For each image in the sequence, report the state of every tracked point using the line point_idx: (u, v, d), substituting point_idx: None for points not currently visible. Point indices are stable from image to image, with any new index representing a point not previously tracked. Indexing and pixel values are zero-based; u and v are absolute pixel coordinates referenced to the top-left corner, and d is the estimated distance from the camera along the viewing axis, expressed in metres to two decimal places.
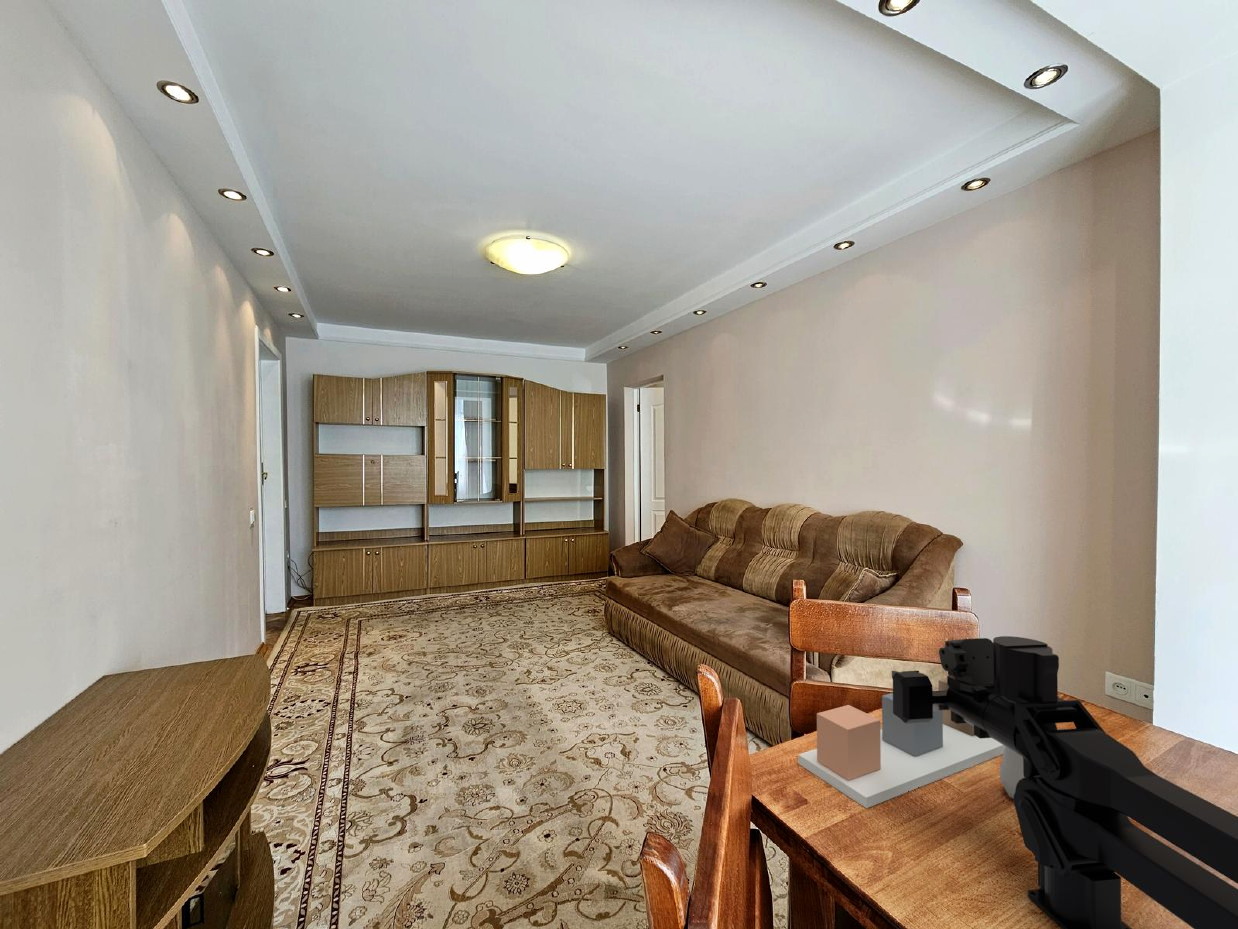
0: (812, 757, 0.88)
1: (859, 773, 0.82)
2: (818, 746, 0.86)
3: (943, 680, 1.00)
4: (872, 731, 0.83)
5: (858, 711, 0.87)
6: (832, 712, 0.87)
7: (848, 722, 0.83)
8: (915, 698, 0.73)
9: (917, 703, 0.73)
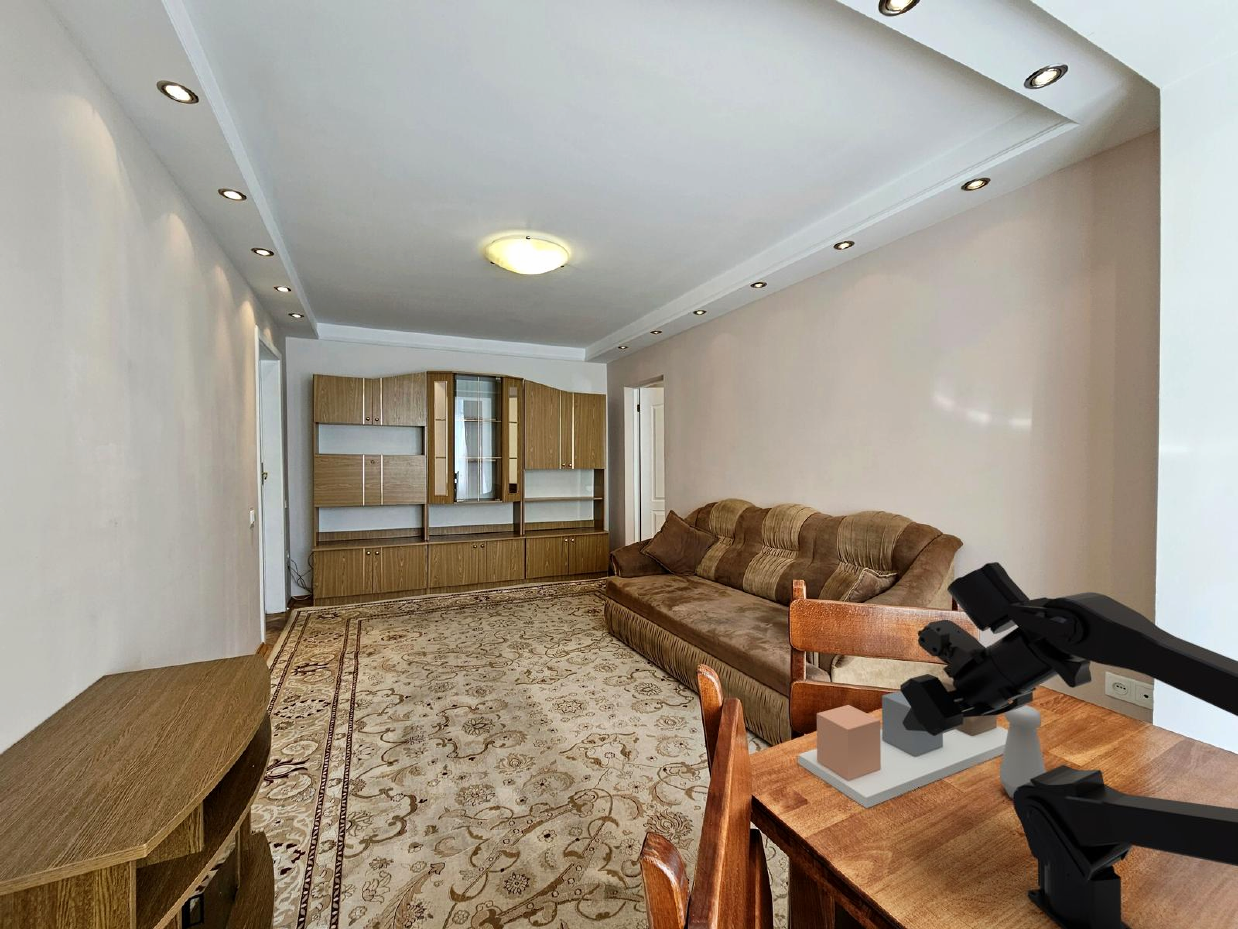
0: (812, 757, 0.88)
1: (859, 773, 0.82)
2: (818, 746, 0.86)
3: (943, 680, 1.00)
4: (872, 731, 0.83)
5: (858, 711, 0.87)
6: (832, 712, 0.87)
7: (848, 722, 0.83)
8: (933, 693, 0.65)
9: (939, 699, 0.64)
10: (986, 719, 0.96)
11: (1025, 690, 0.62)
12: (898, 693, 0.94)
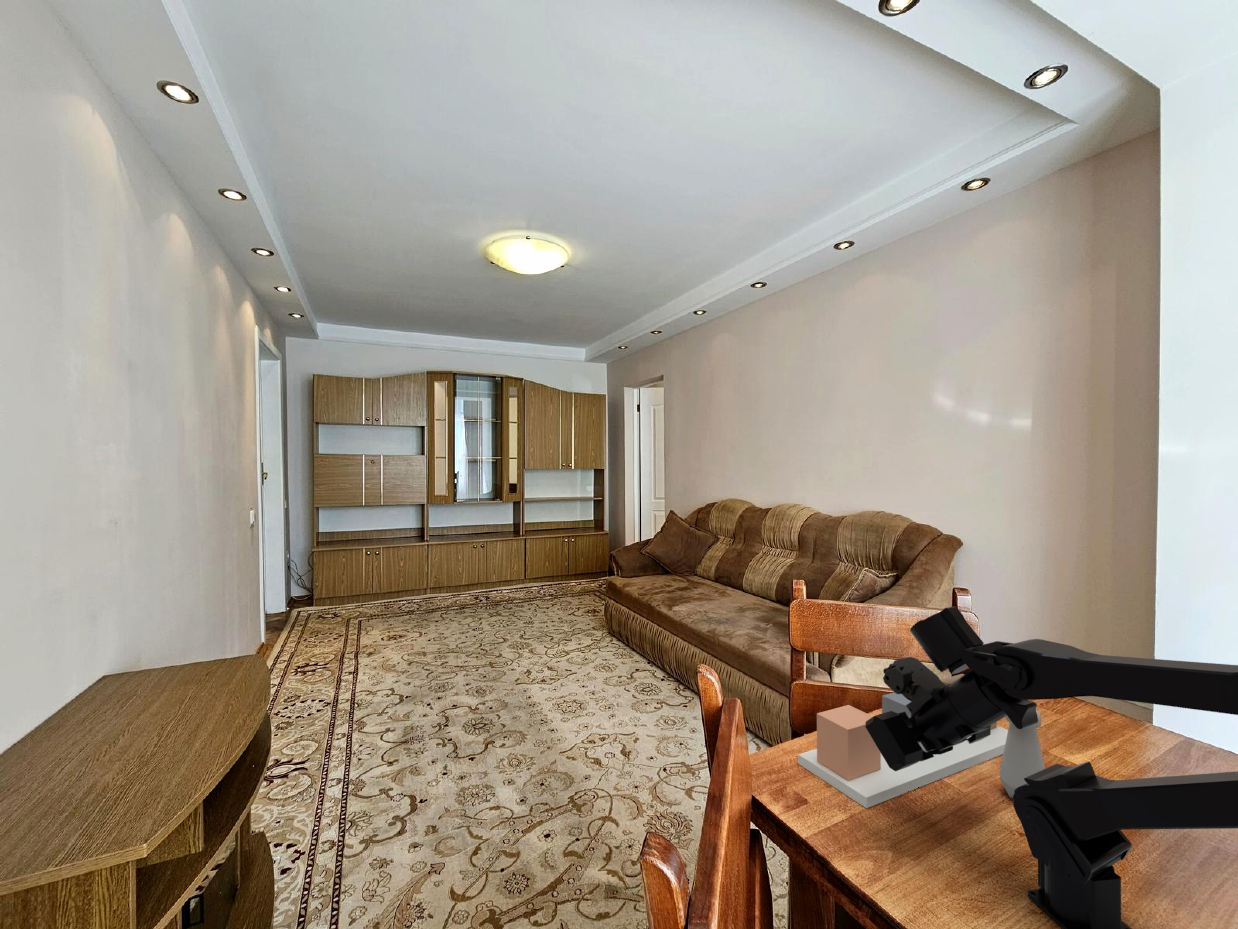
0: (812, 757, 0.88)
1: (859, 773, 0.82)
2: (818, 746, 0.86)
3: (943, 680, 1.00)
4: None
5: (858, 711, 0.87)
6: (832, 712, 0.87)
7: (848, 722, 0.83)
8: (895, 731, 0.69)
9: (900, 736, 0.69)
10: None
11: (979, 728, 0.67)
12: None
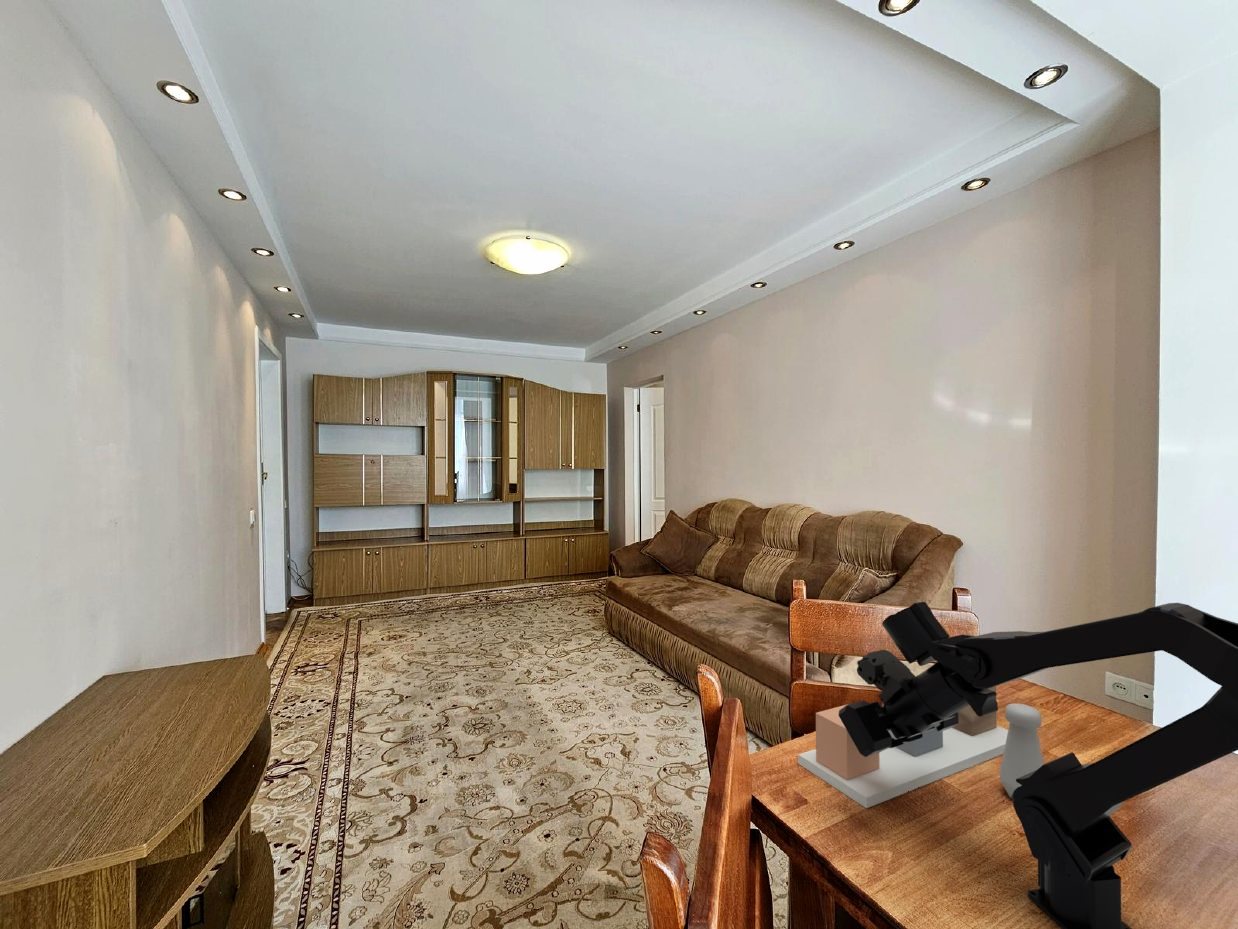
0: (812, 757, 0.88)
1: (858, 772, 0.82)
2: (817, 746, 0.86)
3: None
4: None
5: None
6: (831, 711, 0.87)
7: None
8: (866, 719, 0.73)
9: (870, 724, 0.73)
10: (986, 719, 0.96)
11: (944, 717, 0.71)
12: None
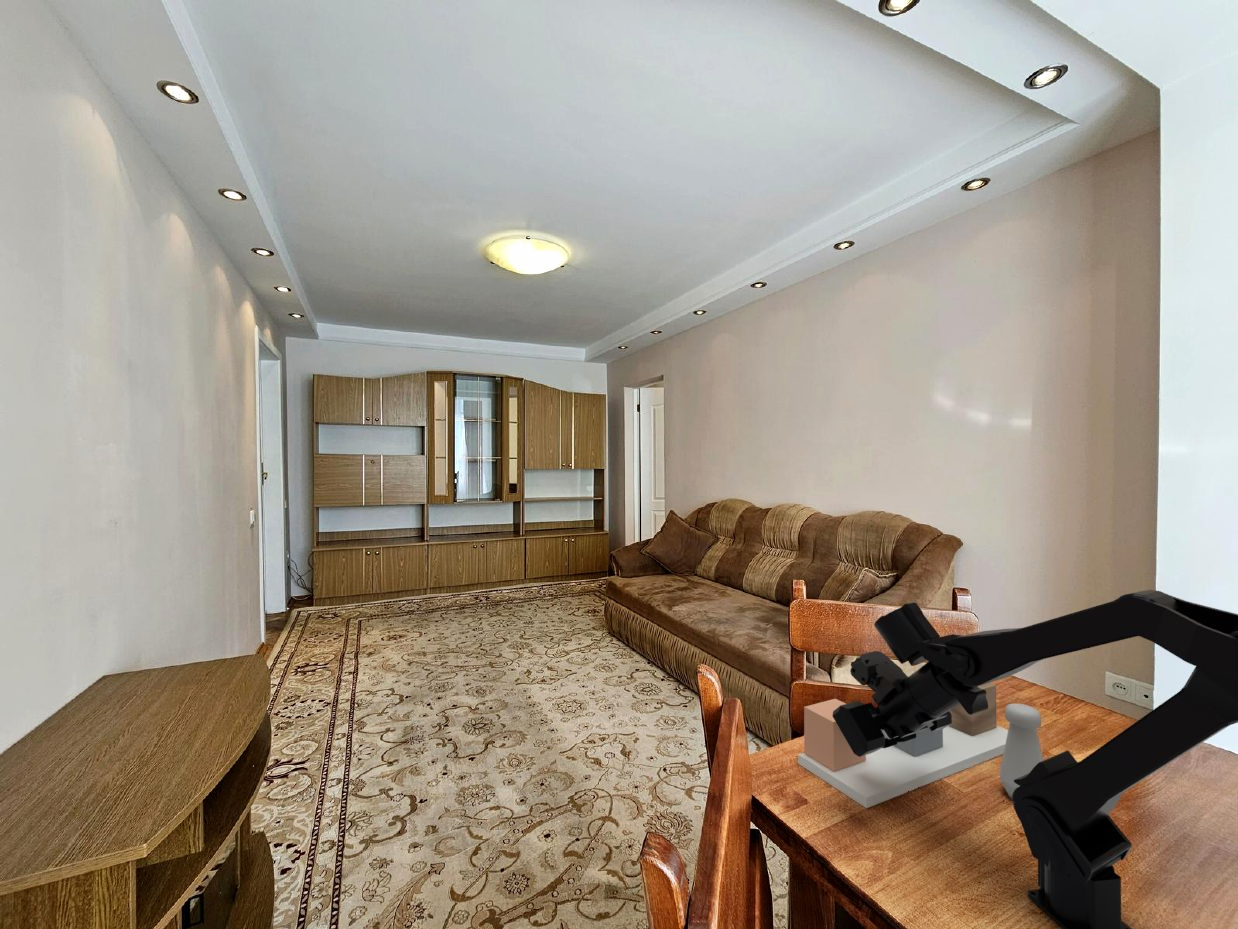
0: None
1: (844, 764, 0.84)
2: (805, 739, 0.89)
3: None
4: None
5: None
6: (819, 705, 0.89)
7: None
8: (859, 719, 0.74)
9: (863, 724, 0.74)
10: (986, 719, 0.96)
11: (936, 716, 0.72)
12: None
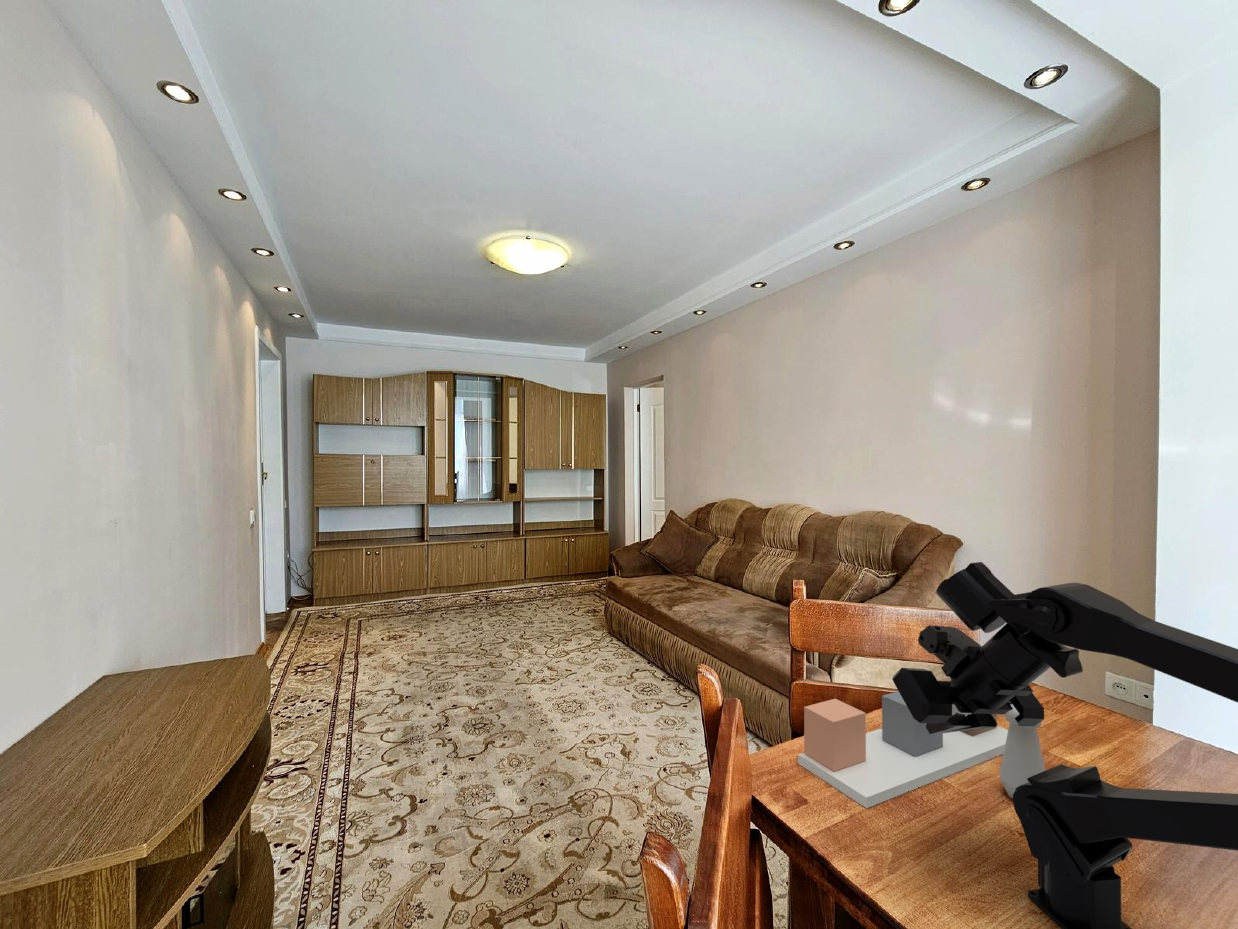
0: None
1: (844, 764, 0.84)
2: (805, 739, 0.89)
3: (943, 680, 1.00)
4: (857, 724, 0.86)
5: (844, 704, 0.90)
6: (819, 705, 0.89)
7: (834, 715, 0.86)
8: (922, 682, 0.66)
9: (927, 687, 0.66)
10: None
11: (1016, 685, 0.63)
12: (898, 693, 0.94)
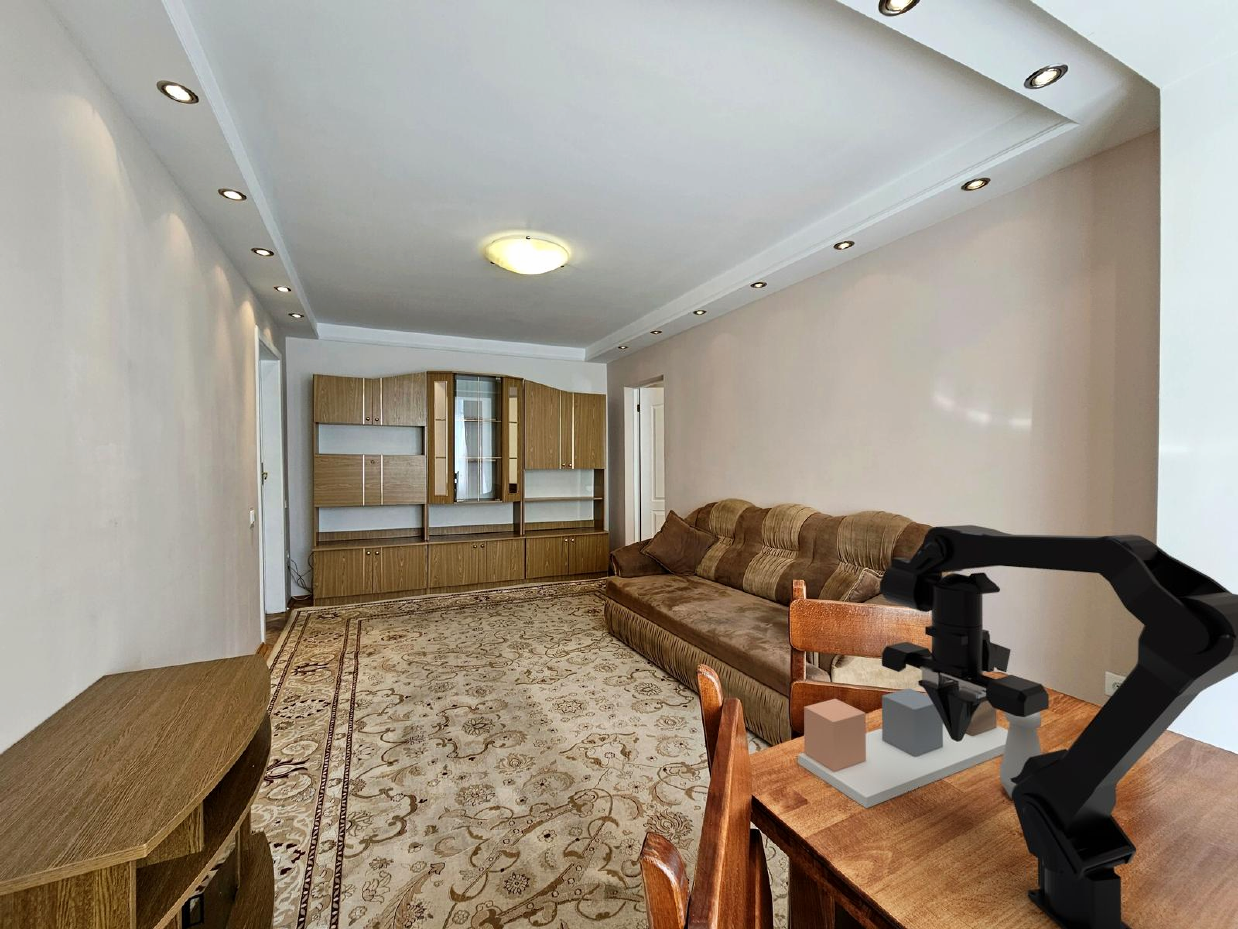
0: None
1: (844, 764, 0.84)
2: (805, 739, 0.89)
3: None
4: (857, 724, 0.86)
5: (844, 704, 0.90)
6: (819, 705, 0.89)
7: (834, 715, 0.86)
8: (904, 645, 0.79)
9: (903, 646, 0.79)
10: (986, 719, 0.96)
11: (937, 624, 0.71)
12: (898, 693, 0.94)
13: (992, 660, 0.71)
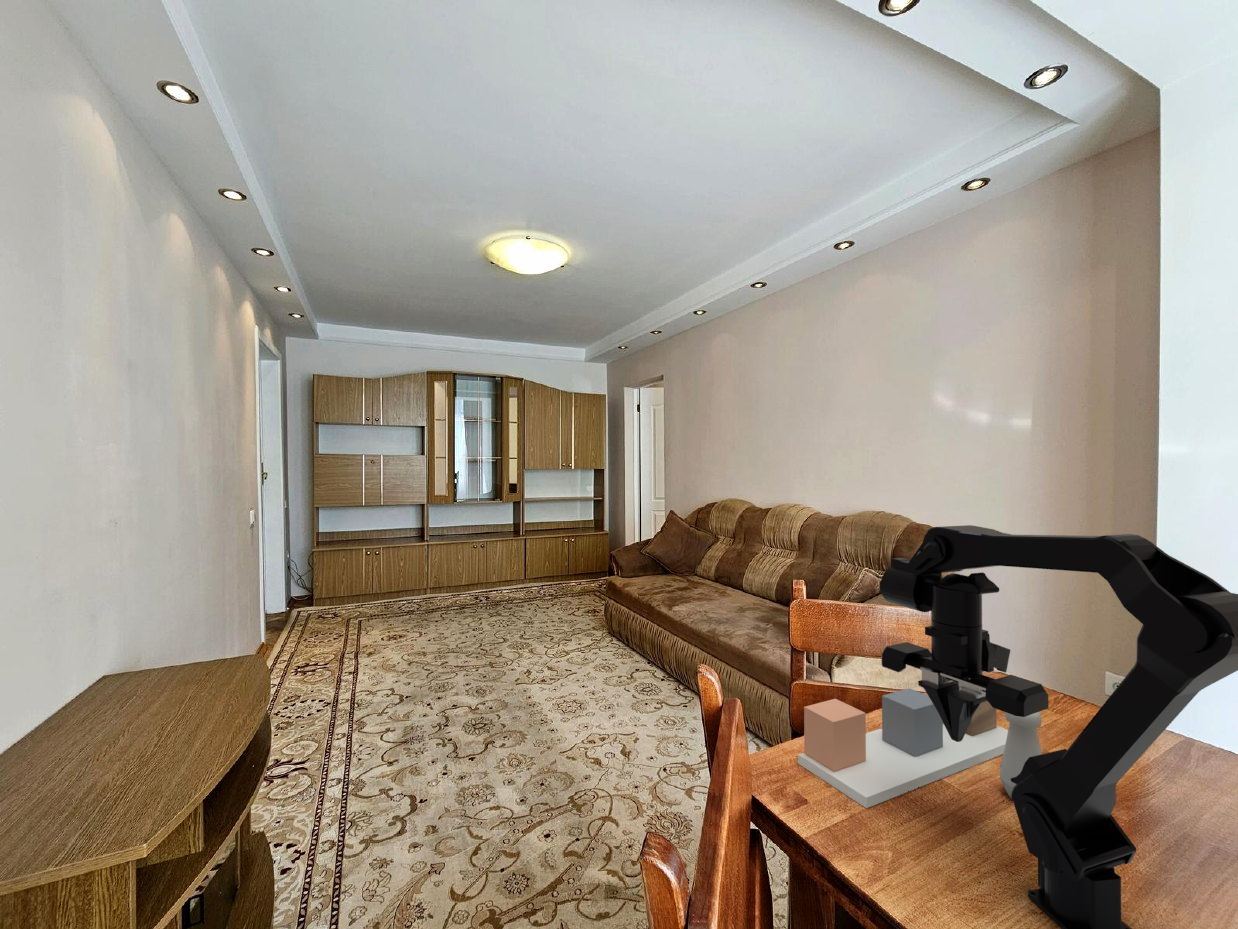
0: None
1: (844, 764, 0.84)
2: (805, 739, 0.89)
3: None
4: (857, 724, 0.86)
5: (844, 704, 0.90)
6: (819, 705, 0.89)
7: (834, 715, 0.86)
8: (904, 645, 0.79)
9: (903, 646, 0.79)
10: (986, 719, 0.96)
11: (937, 624, 0.72)
12: (898, 693, 0.94)
13: (992, 660, 0.71)
